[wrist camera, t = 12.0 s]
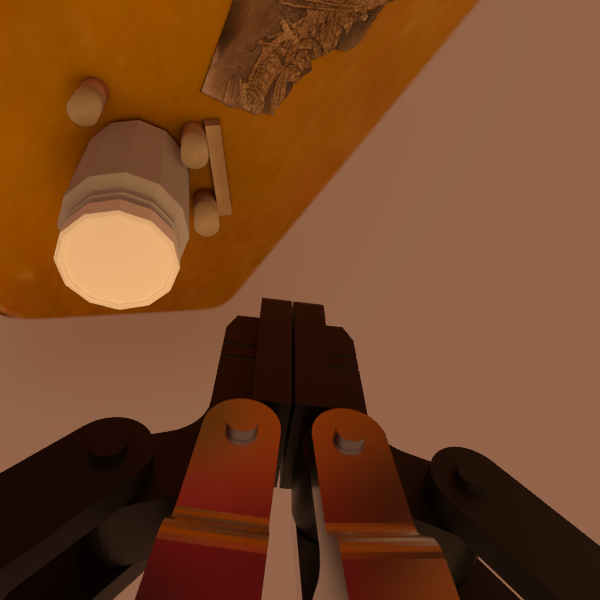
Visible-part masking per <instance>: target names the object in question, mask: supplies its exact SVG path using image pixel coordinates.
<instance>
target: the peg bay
mask: <svg viewBox="0 0 600 600" xmlns="http://www.w3.org/2000/svg"><path fill="white" fill-rule="evenodd" d="M108 97H109V91H108V88H107V86H106V85H105V83H104V82H103V81H102V80H100V79H98V78H95V77H88V78H85V79H84V80H83V81H82V82H81V84H80V85H79V87H78V88H77V90H76V91H75V92H74V94H73V95H72V97H71V98H70V100H69V101H68V103H67V113H68V115H69V117H70V118H71V120H72V121H73V122H75V123H76V124H78V125H80V126H85V127H88V126H92V125H94V124H95V123H96V122H97V121H98V119H99V117H100V114H101V112H102V110H103V108H104V106H105V104H106V102H107V100H108ZM207 142H208V145H207ZM208 149H209V155H210V162H211V168H212V175H213V181H214V188H215V193H214V192H213V191H212V190H211V189H208V188H201V189H199V190H197V191H196V193H195V194H194V227H195V230H196V232H197V233H198V234H200V235H202V236H212V235H214V234H216V233H217V231H218V230H219V218H218V214H219V216H223V215H232V210H231V203H230V196H229V188H228V181H227V173H226V166H225V158H224V151H223V143H222V136H221V128H220V122H219V118H217V119H206V120H205V127H204V126H203V125H202V124H201V123H200V122H198V121H189V122H187V123H185V124H184V126H183V127H182V131H181V159H182V162H183V163H184V164H185V165H186V166H187V167H189V168H192V169H199V168H202V167H204V166H205V165H206V163H207V162H208V157H209V156H208ZM215 194H216V195H215ZM217 207H218V208H217Z"/></svg>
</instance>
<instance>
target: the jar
mask: <svg viewBox="0 0 600 600" xmlns="http://www.w3.org/2000/svg"><path fill="white" fill-rule="evenodd" d="M57 226H58V228H59V231H60V234H59V238H58V242H57V246H56V250H55V255H54V261H55V264H56V266H57V268H58V270H59V272H60V275H61V277H62V279H63V281H64V283H65V285H67V286H68V287H69V288H71V289H72V290H73V291H75V292H76V293H77V294H79V295H80V296H81V297H83V298H84V299H85V300H87V301H88V302H90V303H94V304H98V305H102V306H106V307H111V308H115V309H119V310H121V309H127V308H134V307H141V306H147V305H150V304H151V303H153V302H154V301H156V300H157V299H159V298H160V297H162V296H163V295H164V294H166V293H167V292H169V291H170V290H171V288H172V286H173V283H174V281H175V278H176V276H177V273H178V271H179V269H180V258H181V256H182V253H183V251H184V249H185V246H186V244H187V241H188V239H189V173H188V168H187V166H186V165H185V164H184V163H183V162H182V159H181V148H180V147H179V146H178V144H177V143H176V142H175V141H174V140H173V139H172V137H171V136H170V135H169V134H168V133H167V132H166V131H165V130H162V129H160V128H157V127H155V126H152V125H150V124H148V123H145V122H143V121H140V120H133V121H124V122H114V123H110V124H109V125H107V126H106V127H105V128H104V129H103V130H101V131H100V132H99V133H98V134H96V135H95V136H94V137H93V138H91V139H90V141H89V144H88V146H87V148H86V150H85V152H84V154H83V156H82V159H81V161H80V163H79V165H78V167H77V169H76V171H75V174H74V176H73V178H72V180H71V182H70V184H69V186H68V189H67V191H66V193H65V195H64V198H63V202H62V206H61V210H60V215H59V219H58V223H57Z"/></svg>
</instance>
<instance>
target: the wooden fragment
mask: <svg viewBox="0 0 600 600" xmlns="http://www.w3.org/2000/svg"><path fill="white" fill-rule="evenodd" d="M392 1H394V0H234V2H233V4H232V7H231V11H230V13H229V16H228V18H227V21H226V24H225V27H224V29H223V32H222V35H221V38H220V40H219V43H218V46H217V48H216V51H215V54H214V56H213V59H212V63H211V65H210V68H209V71H208V73H207V76H206V79H205V82H204V85H203V88H202V91H200V92H202V93H204V94H206V95H208V96H210V97H212V98H214V99H216V100H218V101H220V102H221V103H223V104H224V105H226V106H227V107H231V108H242V109H244V110H246V111H249V112H250V113H252V114H254V115H259V114H261V113H266V114H269V115H274V110H275V109H276V108H278V107H279V105H280V103H281V102H282V101H283V100H284V99H285V98H286V97H287V96H288V94H289V93H290V91H291V90H292V85H293V84H294V83H296V82H297V81H299V80H300V79H301V78H302V77H303V76H304V75H305V74H307V73H309V72H311V71H312V68H311V63H310V61H311V60H313V59H315V58H317V57H321V56H324V55H326V54H327V53H329V52H330V51H331V49H335V50H340V51H344V52H345V51H348V50H349V49H351V48H353V47H354V46H355V45H357V44H358V43H359V42H361V41H362V40H363V38H364V36H365V34H366V31H367V30H368V29H369V28H370V26H371V24H372V22H373V21H374V20H375V19H376V17H377V14H378V12H380V11H381V10H382V9H383V7H384V6H385V4H387V2H392Z"/></svg>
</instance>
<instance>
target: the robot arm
mask: <svg viewBox="0 0 600 600" xmlns="http://www.w3.org/2000/svg"><path fill="white" fill-rule="evenodd" d="M279 470H280V488H285V489H292V515H293V517H292V522H291V531H292V544H293V556H294V568H295V581H296V595H297V600H520V599H519V598H518V597H517V596H516V595H515V594H514V593H513V592H512V591H511V590H510V589H509V588H508V587H507V586H506V585H505V584H503V582H502V581H501V580H500V579H498V578H497V577H496V576H495V575H494V574H493V573H492V572H491V571H490V570H489V569H488V568H487V567H486V566H485V565H484V564H483V563H482V562H481V561H480V560H479V559H478V557H480V558H481V559H482V560H483V561H484V562H485V563H486V564H487V565H488V566H489V567H490V568H492V569H493V570H494V571H495V572H496V573H497V574H498V575H499V576H500V577H501V578H502V579H503V580H504V581H505V582H506V583H507V584H508V585H509V586H510V587H511V588H513V589H514V590H515V591H516V592H517V593H518V594H519V595H520V596H521V597H522V598H523V599H524V600H600V546H599V545H598V544H596V543H595V542H594V541H593V540H591V539H590V538H589V537H588V536H586V535H585V534H584V533H582V532H581V531H580V530H579V529H577V528H576V527H575V526H574V525H572V524H571V523H570V522H569V521H567V520H566V519H565V518H563V517H562V516H561V515H560V514H558V513H557V512H556V511H555V510H553V509H552V508H551V507H550V506H548V505H547V504H546V503H544V502H543V501H542V500H541V499H539V498H538V497H537V496H536V495H534V494H533V493H532V492H531V491H529V490H528V489H527V488H525V487H524V486H523V485H522V484H520V483H519V482H518V481H517V480H515V479H514V478H513V477H511V476H510V475H509V474H508V473H506V472H505V471H504V470H503V469H501V468H500V467H499V466H498V465H496V464H495V463H494V462H492V461H491V460H490V459H488V458H487V457H485V456H483V455H482V454H480V453H478V452H475V451H473V450H470V449H467V448H462V447H448V448H444V449H442V450H440V451H438V452H437V453H436V454H435V455H434V457H433V458H432V461H431V462H430V461H428V460H425V459H422V458H419V457H416V456H414V455H411V454H408V453H405V452H403V451H400V450H398V449H396V448H394V447H392V446H391V445H389V444H388V441H387V438H386V435H385V433H384V431H383V429H382V428H381V427H380V425H379V424H378V423H377V422H376V421H374V420H373V419H372V418H370V417H369V416H368V415H367V410H366V405H365V400H364V395H363V389H362V384H361V379H360V374H359V371H358V363H357V359H356V353H355V347H354V342H353V340H352V339H351V338H350V336H349V335H348V334H347V332H346V331H345V330H344V329H343V327H334V326H326V323H325V314H324V306H323V305H319V304H311V303H302V302H293V306H292V302H291V301H286V300H277V299H268V298H262V304H261V312H260V318H255V317H247V316H237V317H236V318H235V319H234V320H233V321H232V322H231V323H230V324H229V325H228V326H227V328H226V332H225V337H224V342H223V346H222V351H221V356H220V360H219V365H218V370H217V375H216V380H215V385H214V389H213V394H212V399H211V402H210V406H209V408H208V409H207V411H206V412H205V414H204V415H203V416H202V417H201V418H200V419H198V420H197V421H196V422H194V423H192V424H191V425H188V426H186V427H184V428H181V429H178V430H173V431H168V432H162V433H156V434H151V433H150V431H149V430H148V429H147V428H146V427H145V426H144V425H143V424H141V423H140V422H137V421H135V420H132V419H129V418H122V417H111V418H104V419H100V420H96V421H93V422H91V423H89V424H87V425H85V426H83V427H81V428H79V429H78V430H76V431H74V432H72V433H70V434H69V435H67V436H65V437H63V438H62V439H60V440H58V441H56V442H54V443H53V444H51V445H49V446H47V447H46V448H44V449H42V450H40V451H39V452H37V453H35V454H33V455H32V456H30V457H28V458H26V459H25V460H23V461H21V462H19V463H18V464H16V465H14V466H12V467H11V468H9V469H7V470H5V471H3V472H2V473H0V600H113V599H114V598H115V597H116V596H117V595H118V594H119V593H120V592H122V591H123V590H124V589H125V588H126V587H127V586H128V585H129V584H131V583H132V582H133V581H134V580H135V579H136V578H137V577H138V576H139V575H141V574H142V573H143V571H144V570H145V571H144V574H143V577H142V580H141V583H140V586H139V588H138V591H137V594H136V598H135V600H261V597H262V589H263V581H264V573H265V564H266V557H267V549H268V539H269V521H270V513H271V505H272V497H273V489H274V487H277V481H278V476H279Z"/></svg>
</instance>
